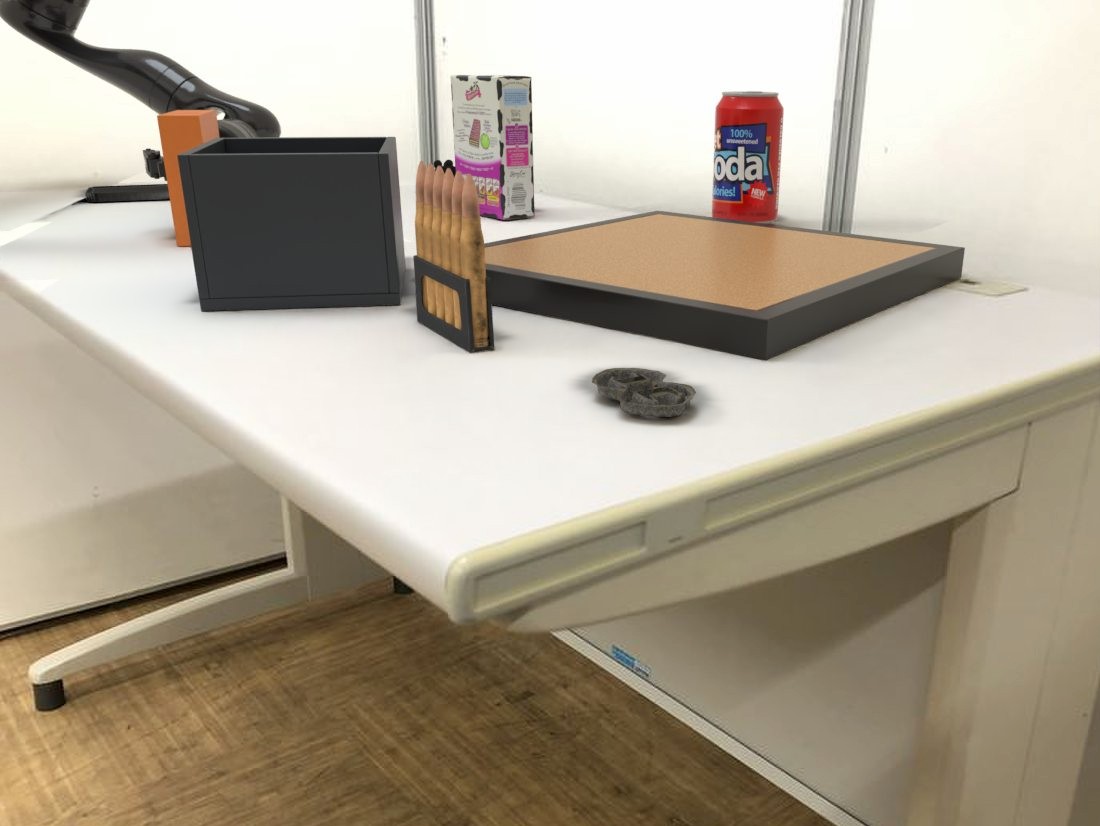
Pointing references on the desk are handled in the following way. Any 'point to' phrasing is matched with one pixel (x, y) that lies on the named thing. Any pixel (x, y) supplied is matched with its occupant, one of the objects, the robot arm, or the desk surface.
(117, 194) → the phone
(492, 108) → the candy bar box
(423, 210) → the ammunition clip
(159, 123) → the block
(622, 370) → the corroded twin loop
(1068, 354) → the desk surface
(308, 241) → the trash can
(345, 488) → the desk surface
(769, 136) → the soda can
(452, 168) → the wireless earbuds
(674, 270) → the cork board
